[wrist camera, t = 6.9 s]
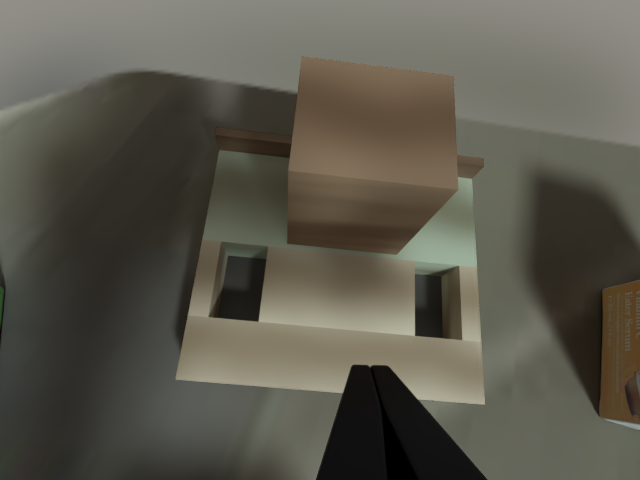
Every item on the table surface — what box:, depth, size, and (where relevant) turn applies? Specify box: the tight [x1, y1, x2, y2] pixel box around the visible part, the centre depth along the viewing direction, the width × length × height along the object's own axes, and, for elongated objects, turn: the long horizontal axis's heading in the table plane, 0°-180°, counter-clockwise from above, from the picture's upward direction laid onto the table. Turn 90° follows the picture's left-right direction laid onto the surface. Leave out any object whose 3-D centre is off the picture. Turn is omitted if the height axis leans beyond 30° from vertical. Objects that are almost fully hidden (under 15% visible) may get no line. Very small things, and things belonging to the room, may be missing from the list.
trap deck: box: [176, 127, 485, 405], centre depth 21 cm, size 13×15×4 cm
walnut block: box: [287, 57, 458, 255], centre depth 18 cm, size 5×6×8 cm
